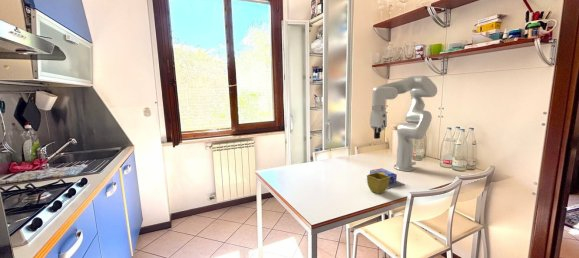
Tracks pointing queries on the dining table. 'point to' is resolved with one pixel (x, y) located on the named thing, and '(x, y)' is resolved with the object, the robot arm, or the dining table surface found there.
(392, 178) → the ink cartridge box
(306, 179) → the dining table surface
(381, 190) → the flower pot
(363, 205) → the dining table surface
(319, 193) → the dining table surface
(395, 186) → the mat
